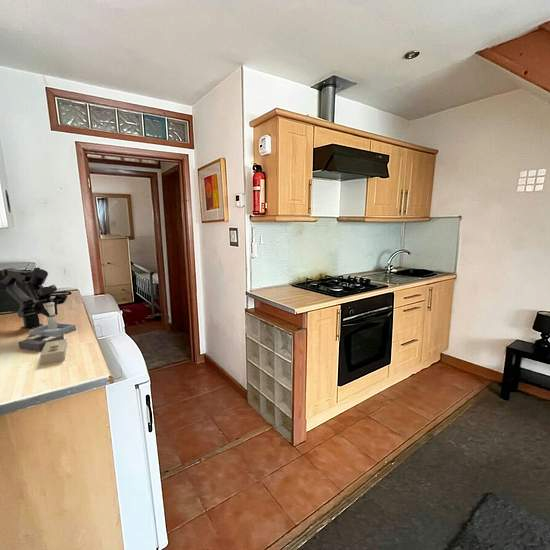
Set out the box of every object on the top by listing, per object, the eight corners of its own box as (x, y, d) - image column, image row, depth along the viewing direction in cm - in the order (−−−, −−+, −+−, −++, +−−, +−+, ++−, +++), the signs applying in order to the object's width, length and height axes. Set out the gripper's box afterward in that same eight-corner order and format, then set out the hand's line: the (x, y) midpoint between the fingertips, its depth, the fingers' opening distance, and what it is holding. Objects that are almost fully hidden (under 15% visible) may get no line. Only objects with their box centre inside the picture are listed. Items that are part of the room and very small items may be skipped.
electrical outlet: (66, 336, 128) (63, 351, 113) (67, 345, 129) (64, 361, 114) (45, 340, 124) (39, 355, 109) (46, 349, 125) (41, 365, 110)
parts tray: (29, 335, 141) (29, 330, 141) (54, 327, 153) (53, 322, 152) (52, 337, 138) (52, 332, 137) (75, 329, 149) (75, 324, 149)
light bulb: (46, 329, 143) (43, 304, 141) (51, 326, 146) (48, 302, 145) (54, 328, 143) (51, 303, 141) (59, 326, 147) (56, 302, 145)
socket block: (19, 348, 125) (18, 341, 125) (45, 339, 136) (44, 332, 135) (39, 351, 122) (38, 343, 122) (64, 341, 133) (63, 334, 132)
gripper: (19, 283, 135) (35, 310, 131) (63, 277, 151) (78, 300, 148) (12, 298, 139) (28, 324, 136) (56, 291, 156) (71, 314, 153)
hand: (52, 315), depth 143 cm, fingers closed on light bulb, 3 cm apart
